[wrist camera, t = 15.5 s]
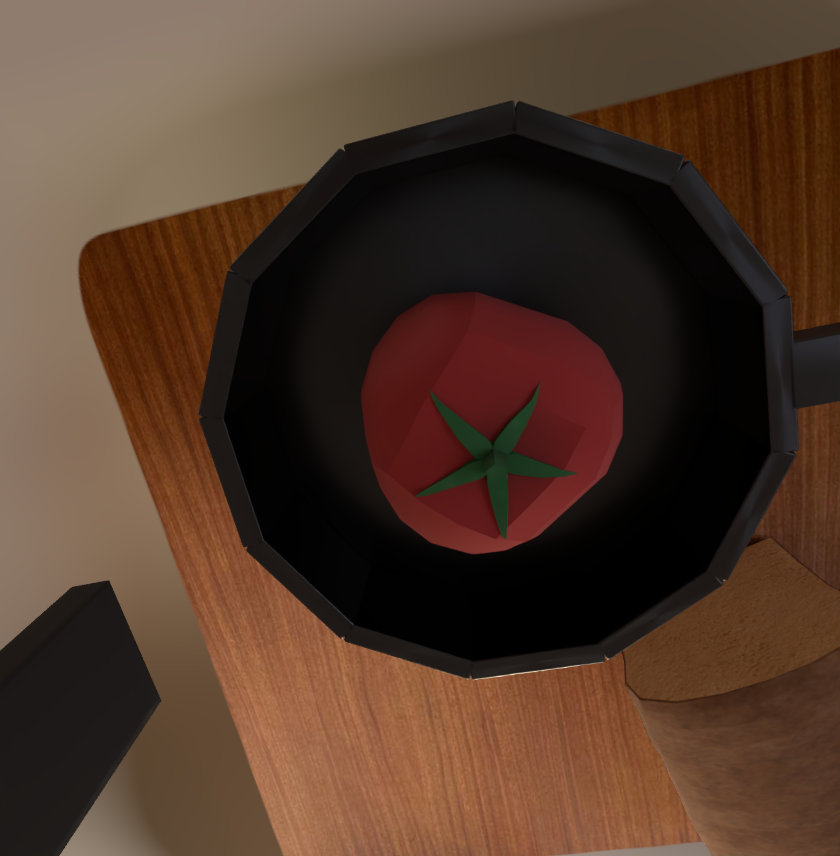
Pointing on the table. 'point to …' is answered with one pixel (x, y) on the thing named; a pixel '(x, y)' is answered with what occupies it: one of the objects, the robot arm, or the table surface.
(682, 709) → the bread
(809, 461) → the table surface
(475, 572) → the pan
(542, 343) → the tomato
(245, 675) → the table surface
